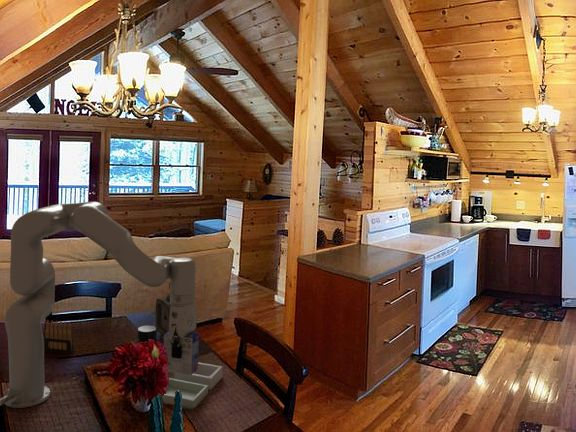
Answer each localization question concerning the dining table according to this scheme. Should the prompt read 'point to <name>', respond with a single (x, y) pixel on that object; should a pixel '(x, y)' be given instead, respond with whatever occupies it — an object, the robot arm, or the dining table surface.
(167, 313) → the ring-top lantern
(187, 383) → the parts tray
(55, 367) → the dining table surface
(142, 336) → the ink bottle
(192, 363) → the ink cartridge box
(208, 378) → the tray
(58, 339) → the ammunition clip
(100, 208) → the robot arm
